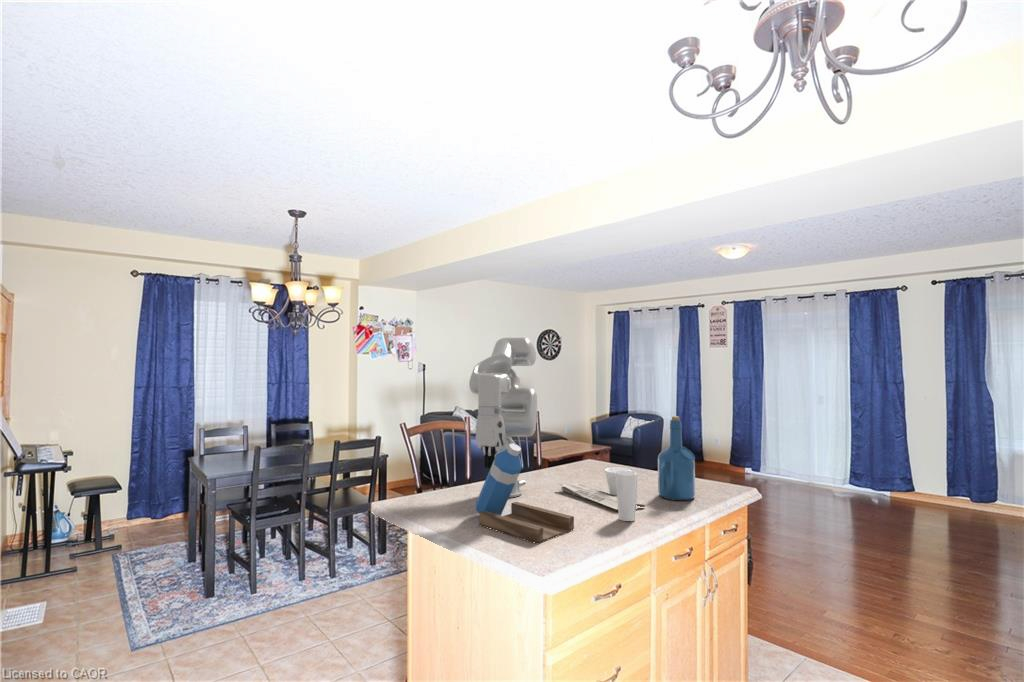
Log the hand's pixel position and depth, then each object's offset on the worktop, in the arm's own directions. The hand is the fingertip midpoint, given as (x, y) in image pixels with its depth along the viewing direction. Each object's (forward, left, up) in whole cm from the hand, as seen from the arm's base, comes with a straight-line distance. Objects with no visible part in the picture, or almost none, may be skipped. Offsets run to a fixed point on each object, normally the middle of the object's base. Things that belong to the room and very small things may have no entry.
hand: (489, 467), depth 172 cm
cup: (-53, +15, -16) cm, 58 cm away
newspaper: (-42, +14, -17) cm, 47 cm away
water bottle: (0, -1, -14) cm, 14 cm away
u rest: (0, +16, -16) cm, 23 cm away
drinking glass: (-28, +34, -16) cm, 47 cm away
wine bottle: (-65, +33, -16) cm, 75 cm away
